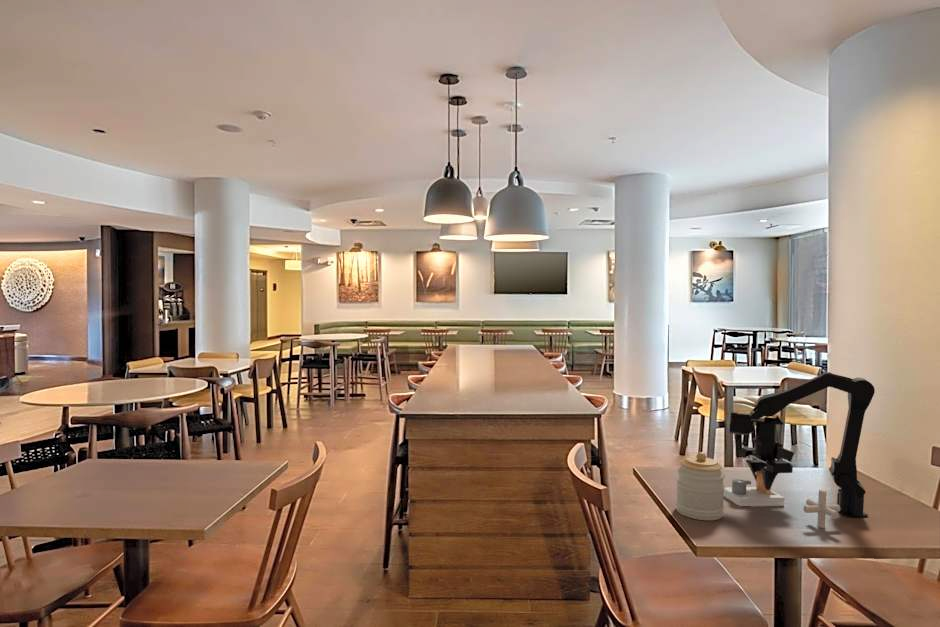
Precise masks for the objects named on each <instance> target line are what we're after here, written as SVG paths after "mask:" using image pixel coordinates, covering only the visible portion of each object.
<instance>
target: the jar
mask: <svg viewBox="0 0 940 627" xmlns="http://www.w3.org/2000/svg"><path fill="white" fill-rule="evenodd" d="M679 463H680V466H679V467H678V468H676V471H677V473H678V478H677V479H676V500H675V507H676V508H675V509H676V511H677V513H678V514H680V515H682V516H684V517H686V518H690V519H694V520H700V521H717V520H720V519H722V518H723V515H724V512H725V507H724V498H725V497H724V489H725V485H724V479H725V477H726V473H724V472H723V471H722V469H723V465H721V463H719V462H718V461H717V460H715V459H713V458H710V457H707V455H706V453H704V452H702V451H699V452H697V453H696V456H694V455H693V456H687V457H686V458H684V459H681V460H680V461H679Z"/></svg>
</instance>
